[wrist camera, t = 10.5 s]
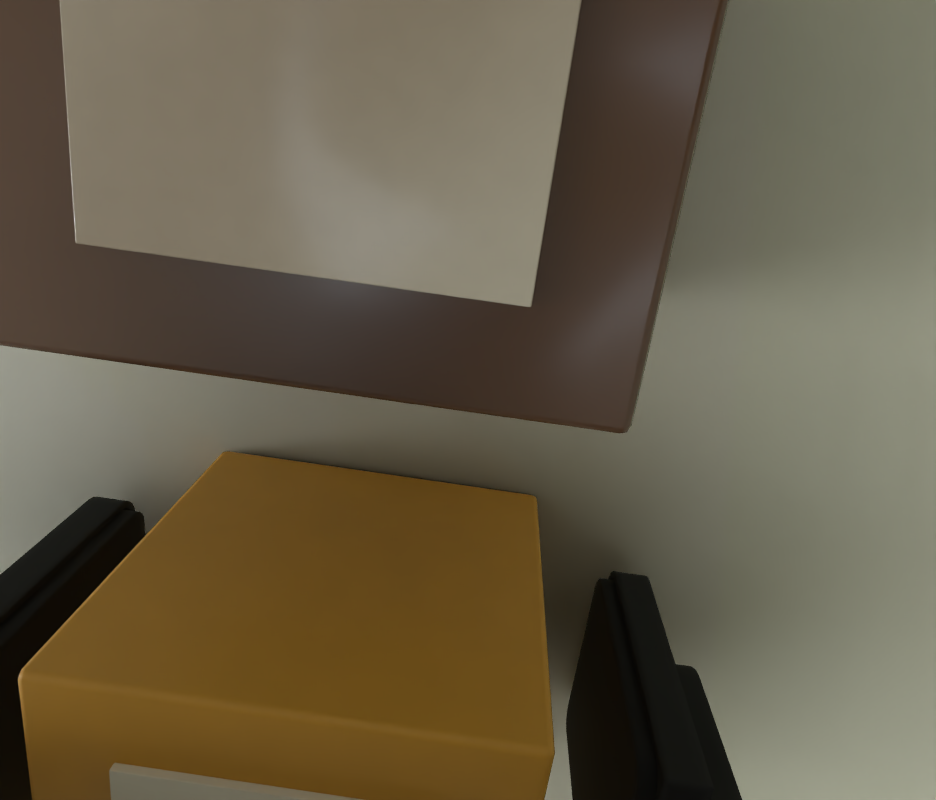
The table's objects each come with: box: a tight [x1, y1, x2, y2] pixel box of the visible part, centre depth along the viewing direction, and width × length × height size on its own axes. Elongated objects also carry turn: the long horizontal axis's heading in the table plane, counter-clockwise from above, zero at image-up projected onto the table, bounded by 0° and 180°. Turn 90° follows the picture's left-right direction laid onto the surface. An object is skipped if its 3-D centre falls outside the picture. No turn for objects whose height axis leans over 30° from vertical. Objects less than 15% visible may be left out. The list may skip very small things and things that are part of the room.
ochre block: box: [18, 451, 555, 800], centre depth 10 cm, size 5×5×5 cm
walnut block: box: [0, 0, 729, 433], centre depth 7 cm, size 5×5×5 cm
